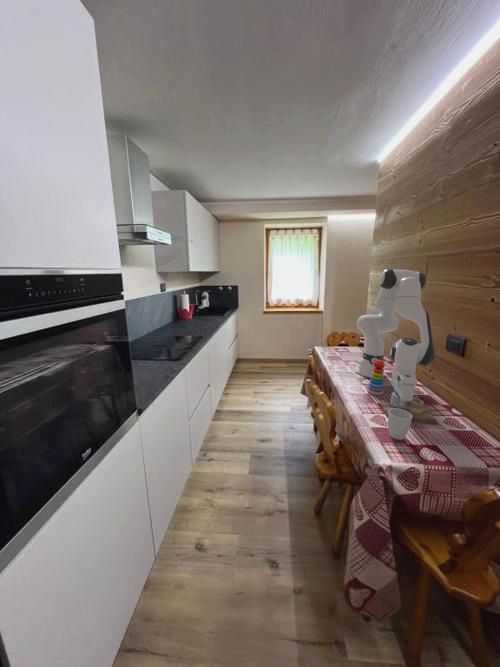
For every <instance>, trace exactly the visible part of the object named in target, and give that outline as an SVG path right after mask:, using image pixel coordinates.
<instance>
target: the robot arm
mask: <svg viewBox="0 0 500 667" xmlns="http://www.w3.org/2000/svg"><path fill="white" fill-rule="evenodd" d="M426 282H427V277H426V275H425V274H424V273H422V272H420V271H415V270H408V269H396V268H395V269H393V268H387V269H384V270H382V271H381V273H380V275H379V279H378V284H379V286H380V290H379V292H378V294H377V297H376V300H375V303H374V306H375V308H376V309H377V311H379V313H377V314H364V315H361V316H359V317H358V318H357V320H356V328H357V329H358V330H359V331H360V332H361V333H362V335H363V337H364V350H363V353H362V357H361V358H360V360H357V364H356V366H355V370H354V373H355V374H358V375H361V376H362V377H366V378H369V379H371V375H372V372H373V369H374V368H376V367H375V366H374V362H375V361H376V360H382V361H383V362H384V351H385V341H384V340H383V339H381V338H379V333H391V332H395V331H396V330H397V329H399V325H400V322H399V318H398V317H397V316H396V313H397V314H398V315H399V316H400V317H402V318H404V319H406V320H409V321H411V322H413V323H415V324H416V325H417V326H418V328H419V332H420V343H419V342H418V340H416V339H413V338H411V337H402V338H400V339H399V340H397V341H394V342H392V344H390V350H389V357H390V358H391V359H392V360H393V361H394V363H393V366H392V372H391V379H390V384H391V385H392V388H393V390H394V391H393V392H397V393H398V395H399V396H400V401H399V405H400V406H404V402H405V401H407V402H410V401H412V399H413V398H414V394H415V390H416V386H417V385H418V379H417V377H416V364H417V365H420V366H425V367H426V366H429V365H430V364H433V362H434V361H435V360H436V349H435V347H434V342H433V335H432V334H433V333H432V326H431V319H430V315H429V312H428V311H427V310H425V309H424V308H423V305H422V290H423V288H425V285H426ZM395 312H396V313H395ZM384 364H385V365H384V367H383V368H382V369H383V370H384V371H383V378H384V377H387V373H386V372H385V370H386V369H385V367H386V363H385V362H384Z"/></svg>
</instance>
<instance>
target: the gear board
mask: <svg viewBox="0 0 500 667" xmlns="http://www.w3.org/2000/svg"><path fill="white" fill-rule="evenodd" d="M398 396H399V395H398ZM390 401H391V400H383V399H380V401H379V404H380V405H381V406H380V407H381V408H382V410H383V411H384V413H385V415H386V418H388V414H389V409H391V408H398V407H395V406H393V405H391V403H390ZM398 409H402V410H405V411H407V412H409V413H411V414H412V420H411V421H414V422H420V423H421V422H423V423H429V424H436V425H437V423H438V420H437V418H436V417H435V416H434V415H433V413H432V412H431V411H430V410H429V409H428V407H427V406H426V405H425V402H424V400H422V399H420V398H419V396H418V395H415V396H414V397H413V399H412V401H410V402H408V401H407V403H406V407H404V408H398Z"/></svg>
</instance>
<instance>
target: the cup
mask: <svg viewBox="0 0 500 667" xmlns="http://www.w3.org/2000/svg"><path fill="white" fill-rule="evenodd" d="M412 421H413V420H412V414H411V413H409V412H407V411H405V410H402V409H398V408H391V409H389V414H388V417H387V429H388V433H389V434H388V435H389V436H390V437H391V438H393V439H395V440H399V441H403V440H404V439H405V437H406V436H407V435H408V432H409V429H410V426H411V423H412Z"/></svg>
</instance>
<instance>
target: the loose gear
mask: <svg viewBox="0 0 500 667" xmlns="http://www.w3.org/2000/svg"><path fill="white" fill-rule="evenodd" d="M389 401H390V403H391V405H393V406H395V407H398V408H404V407H406V403H407V402H408V401H405V402H404V406H400V405H399V401H400V396H398V393H397V392H394V391H392V392H391V397H390V400H389Z"/></svg>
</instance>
